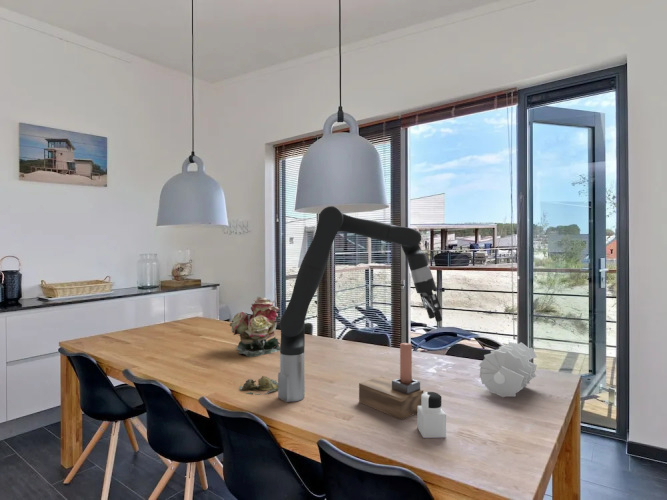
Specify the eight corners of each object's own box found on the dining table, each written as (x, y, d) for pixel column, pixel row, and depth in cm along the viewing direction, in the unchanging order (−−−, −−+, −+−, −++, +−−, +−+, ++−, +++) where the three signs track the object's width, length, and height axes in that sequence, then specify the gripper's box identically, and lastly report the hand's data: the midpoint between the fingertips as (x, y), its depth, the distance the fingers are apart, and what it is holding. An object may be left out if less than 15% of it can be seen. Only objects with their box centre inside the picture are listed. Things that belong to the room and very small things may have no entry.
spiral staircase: (487, 406, 153) (507, 385, 173) (532, 397, 143) (547, 376, 162) (466, 360, 158) (487, 345, 177) (508, 348, 147) (526, 333, 167)
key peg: (406, 392, 138) (406, 346, 138) (397, 389, 141) (397, 344, 141) (414, 389, 141) (414, 344, 141) (405, 386, 144) (405, 342, 144)
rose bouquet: (227, 348, 228) (226, 295, 227) (276, 343, 240) (276, 293, 240) (236, 359, 204) (236, 301, 204) (290, 353, 217) (290, 298, 217)
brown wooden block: (401, 419, 133) (401, 389, 132) (359, 402, 148) (359, 375, 148) (423, 410, 140) (423, 381, 140) (381, 394, 156) (381, 368, 155)
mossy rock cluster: (292, 385, 168) (292, 372, 168) (263, 399, 152) (263, 385, 152) (259, 378, 177) (259, 366, 177) (229, 390, 161) (229, 377, 161)
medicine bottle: (439, 427, 127) (439, 389, 127) (446, 437, 120) (446, 398, 120) (417, 427, 127) (417, 389, 127) (422, 438, 120) (422, 398, 120)
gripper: (409, 281, 160) (421, 320, 160) (419, 282, 146) (432, 325, 146) (426, 275, 161) (438, 314, 161) (438, 276, 147) (451, 319, 146)
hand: (435, 319), depth 153 cm, fingers open, 8 cm apart
